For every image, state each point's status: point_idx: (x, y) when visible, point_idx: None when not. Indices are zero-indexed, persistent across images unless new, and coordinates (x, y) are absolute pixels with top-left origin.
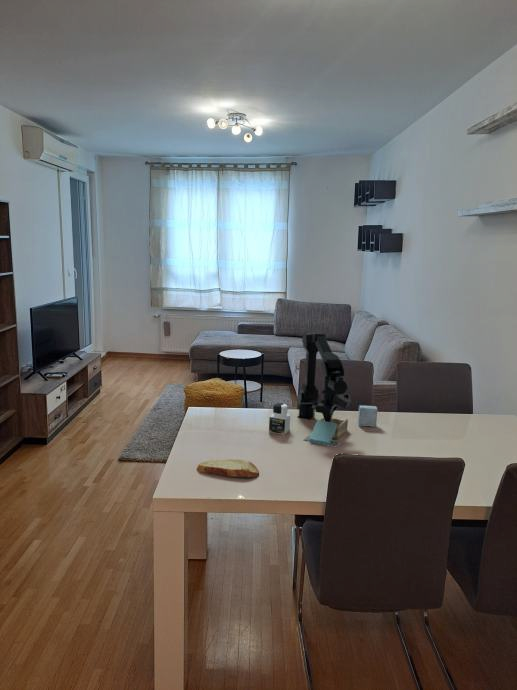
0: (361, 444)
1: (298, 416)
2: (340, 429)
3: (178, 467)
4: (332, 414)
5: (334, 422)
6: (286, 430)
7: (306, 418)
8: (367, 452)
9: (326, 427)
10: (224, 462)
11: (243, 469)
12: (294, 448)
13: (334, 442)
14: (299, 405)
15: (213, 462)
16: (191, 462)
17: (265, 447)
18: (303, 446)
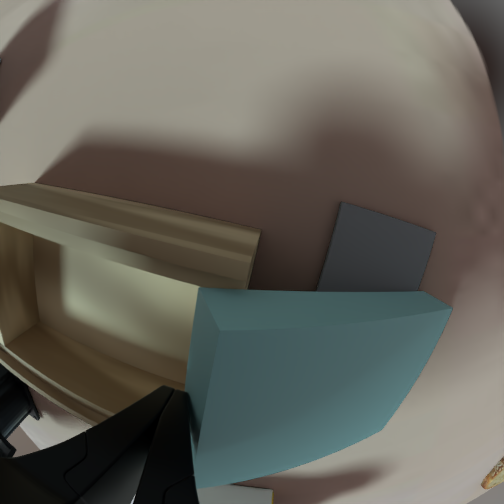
0: (310, 28)
1: (34, 416)
2: (156, 225)
3: (476, 495)
4: (78, 461)
5: (12, 287)
6: (245, 496)
7: (28, 395)
8: (444, 26)
9: (303, 410)
10: (502, 472)
11: None
12: (443, 430)
13: (363, 256)
14: (7, 437)
15: (495, 481)
16: (465, 499)
17: (418, 484)
18: (426, 414)
